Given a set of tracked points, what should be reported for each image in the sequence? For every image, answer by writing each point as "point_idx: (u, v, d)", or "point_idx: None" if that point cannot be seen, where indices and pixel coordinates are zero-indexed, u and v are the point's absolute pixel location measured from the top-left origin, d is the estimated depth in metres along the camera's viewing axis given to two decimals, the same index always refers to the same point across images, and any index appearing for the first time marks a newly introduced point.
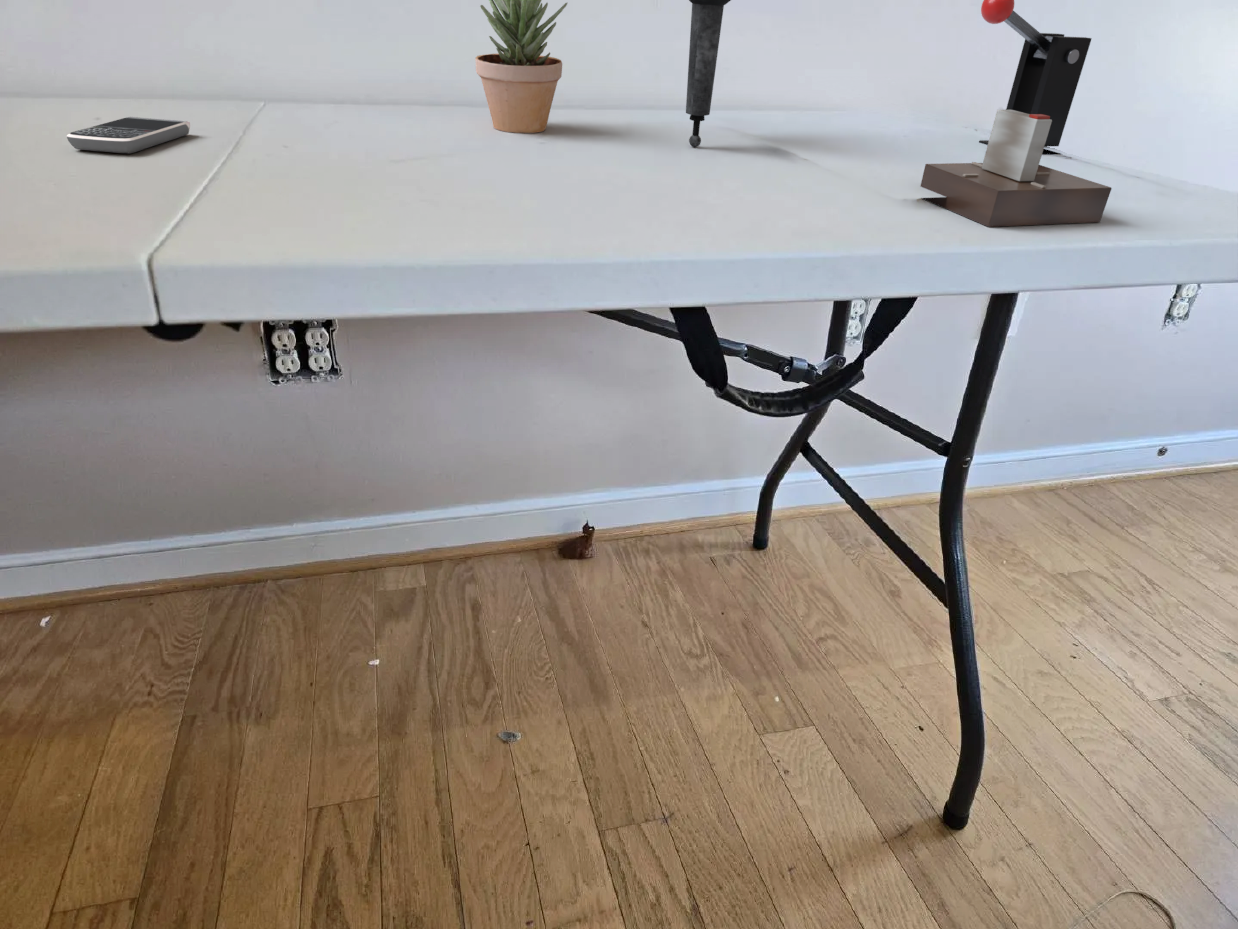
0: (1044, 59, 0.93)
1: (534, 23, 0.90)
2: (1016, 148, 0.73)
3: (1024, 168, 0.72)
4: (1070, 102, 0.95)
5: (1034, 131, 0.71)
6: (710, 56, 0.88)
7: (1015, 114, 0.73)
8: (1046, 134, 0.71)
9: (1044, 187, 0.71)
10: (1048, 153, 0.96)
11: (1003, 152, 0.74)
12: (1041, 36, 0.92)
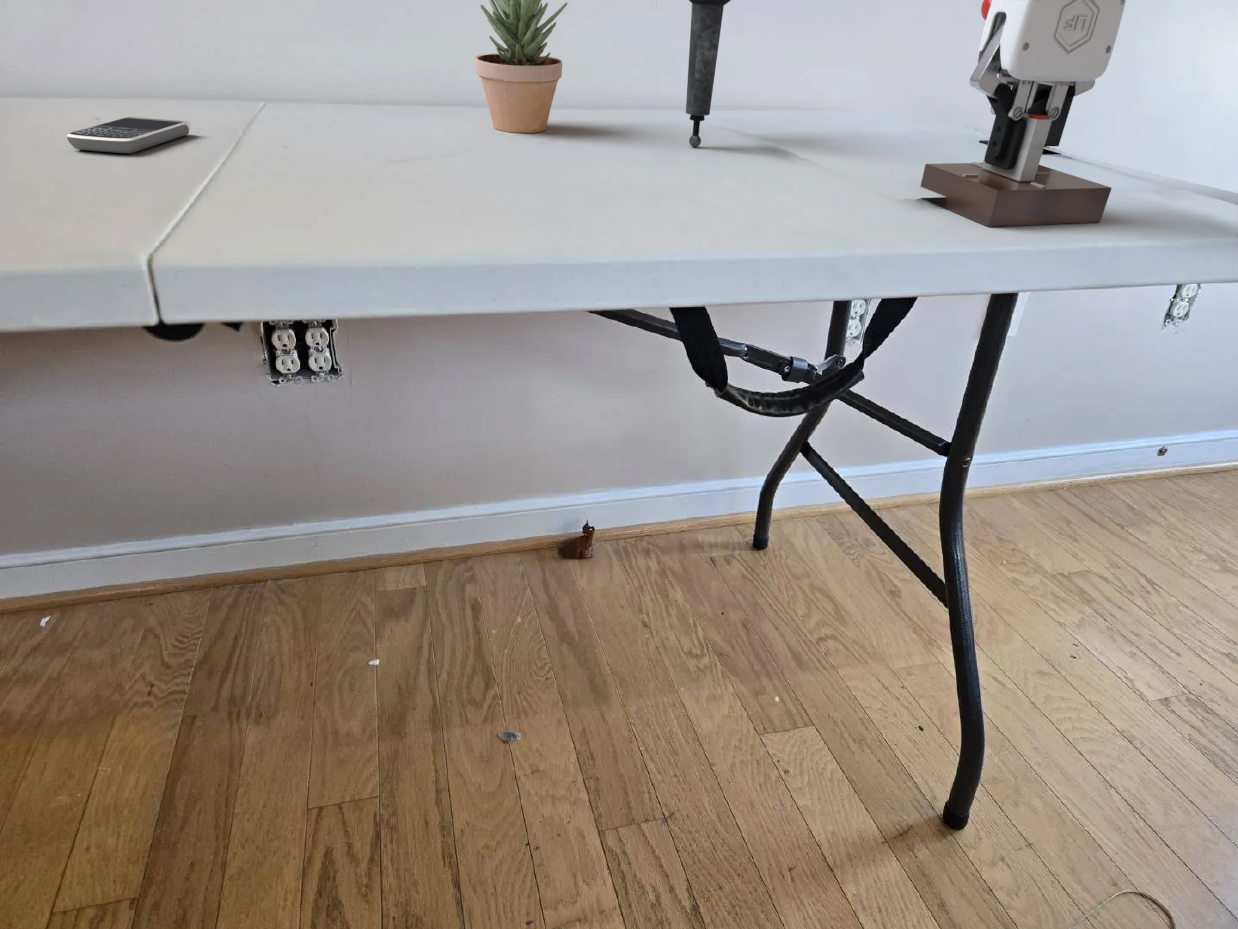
0: None
1: (534, 23, 0.90)
2: None
3: (1024, 168, 0.72)
4: (1070, 102, 0.95)
5: (1034, 131, 0.71)
6: (710, 56, 0.88)
7: None
8: (1046, 134, 0.71)
9: (1044, 187, 0.71)
10: (1048, 153, 0.96)
11: None
12: None
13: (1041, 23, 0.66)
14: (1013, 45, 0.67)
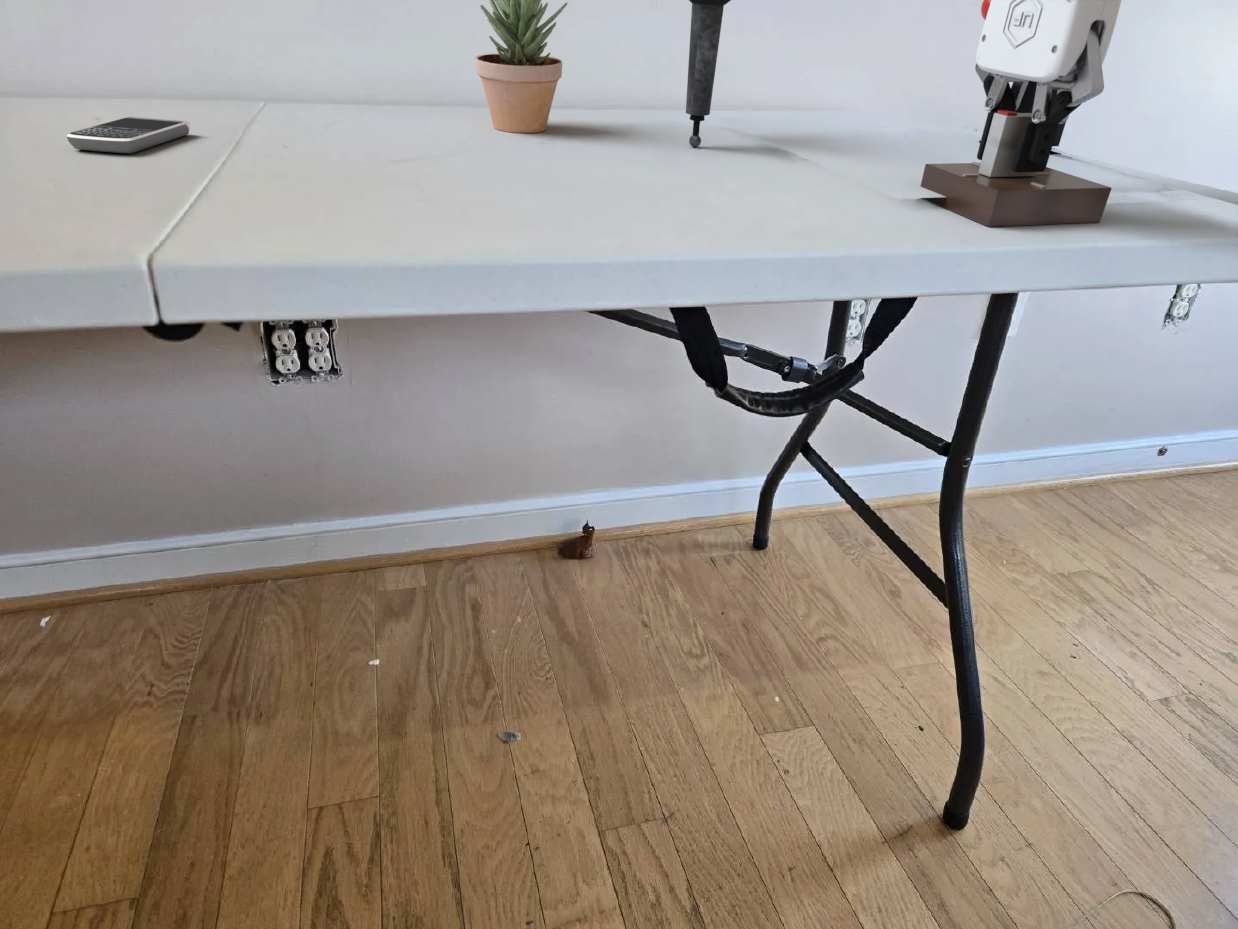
0: None
1: (534, 23, 0.90)
2: None
3: (982, 161, 0.74)
4: None
5: (991, 124, 0.73)
6: (710, 56, 0.88)
7: (1020, 113, 0.73)
8: (1001, 130, 0.72)
9: (1044, 187, 0.71)
10: None
11: None
12: None
13: (995, 17, 0.71)
14: None
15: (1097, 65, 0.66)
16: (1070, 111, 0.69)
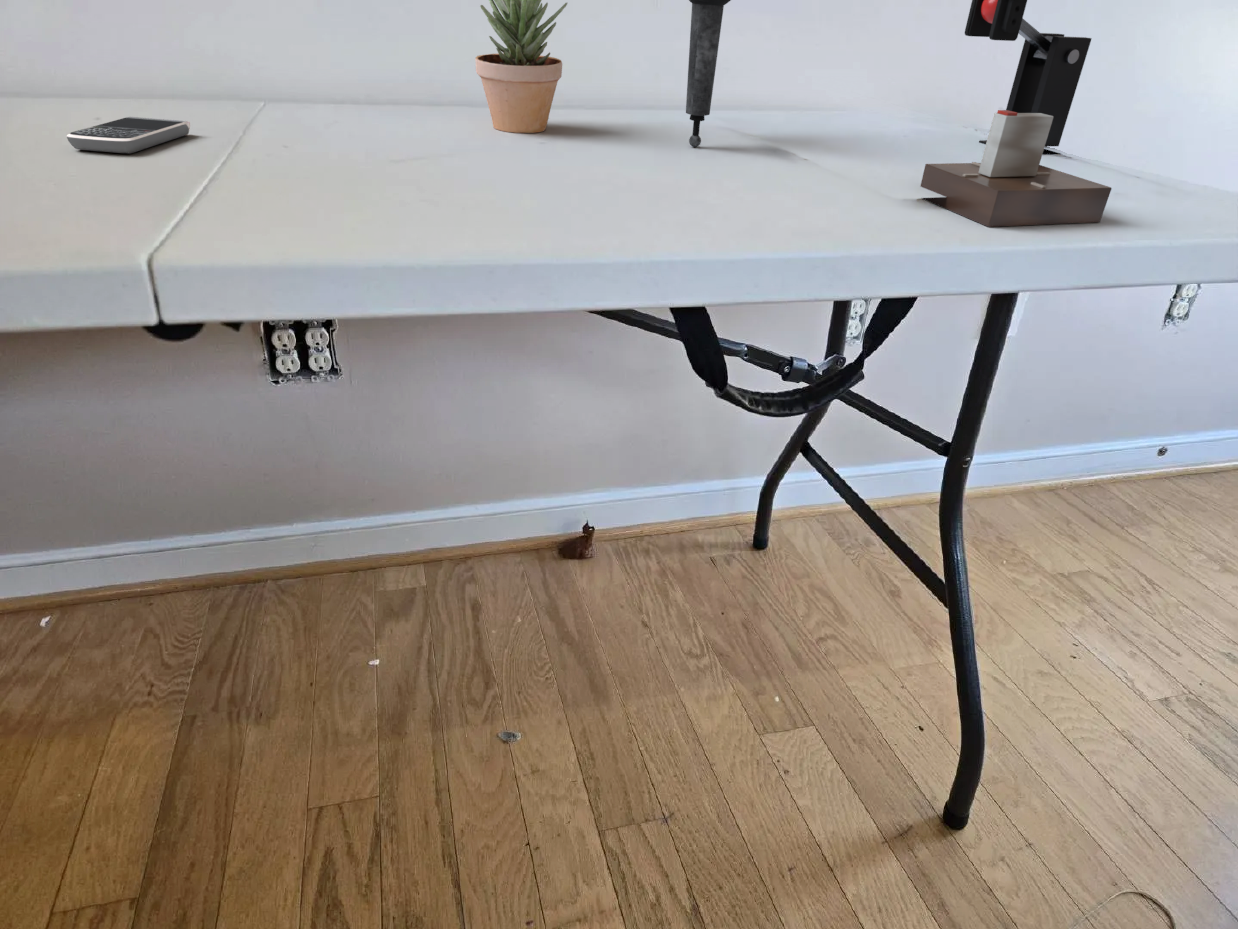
0: (1044, 59, 0.93)
1: (534, 23, 0.90)
2: None
3: (982, 161, 0.74)
4: (1070, 102, 0.95)
5: (991, 124, 0.73)
6: (710, 56, 0.88)
7: (1020, 113, 0.73)
8: (1001, 130, 0.72)
9: (1044, 187, 0.71)
10: (1048, 153, 0.96)
11: None
12: (1041, 36, 0.92)
13: None
14: None
15: None
16: None
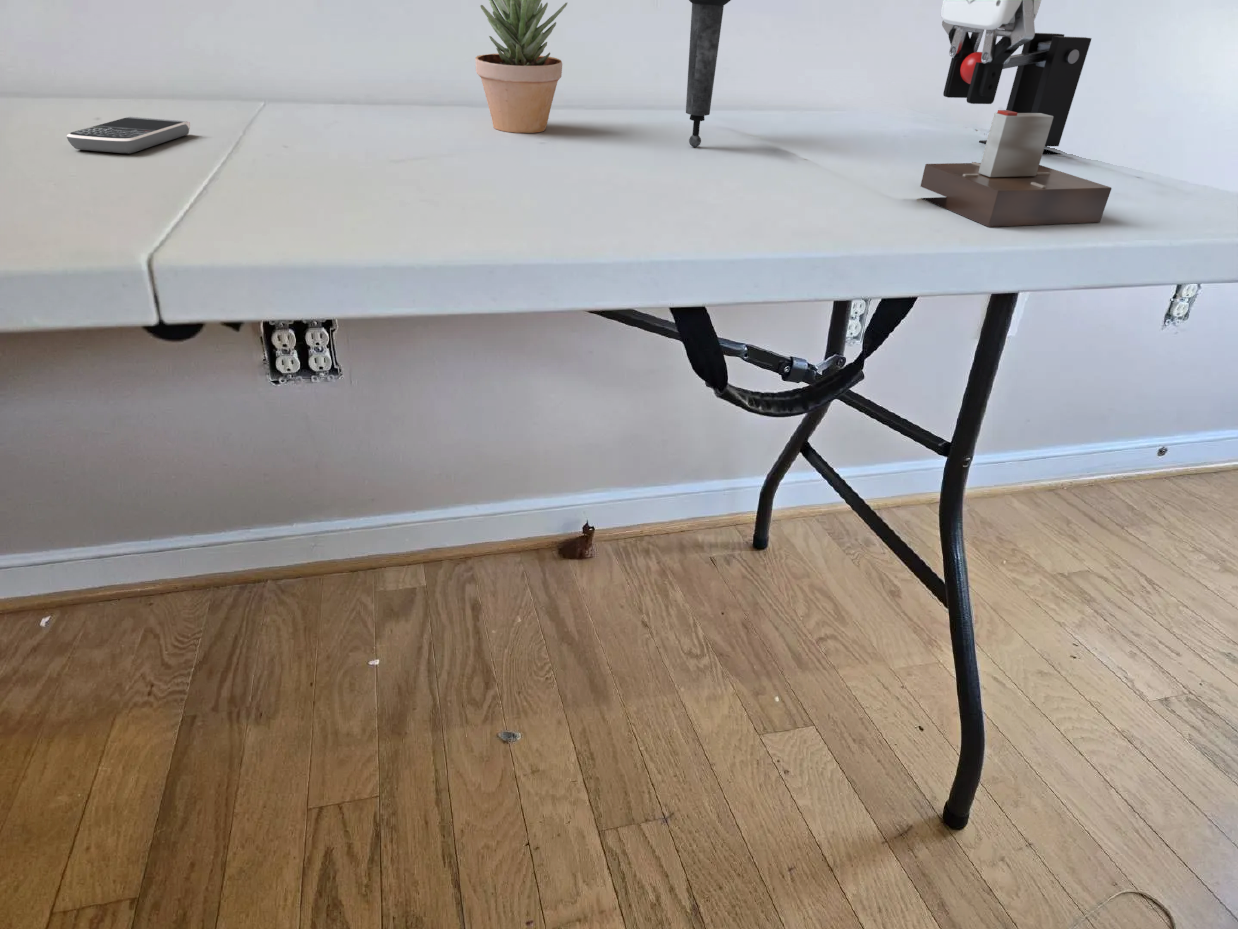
0: None
1: (534, 23, 0.90)
2: None
3: (982, 161, 0.74)
4: (1070, 102, 0.95)
5: (991, 124, 0.73)
6: (710, 56, 0.88)
7: (1020, 113, 0.73)
8: (1001, 130, 0.72)
9: (1044, 187, 0.71)
10: (1048, 153, 0.96)
11: None
12: (1032, 55, 0.93)
13: None
14: None
15: (1030, 16, 0.85)
16: (1011, 53, 0.88)
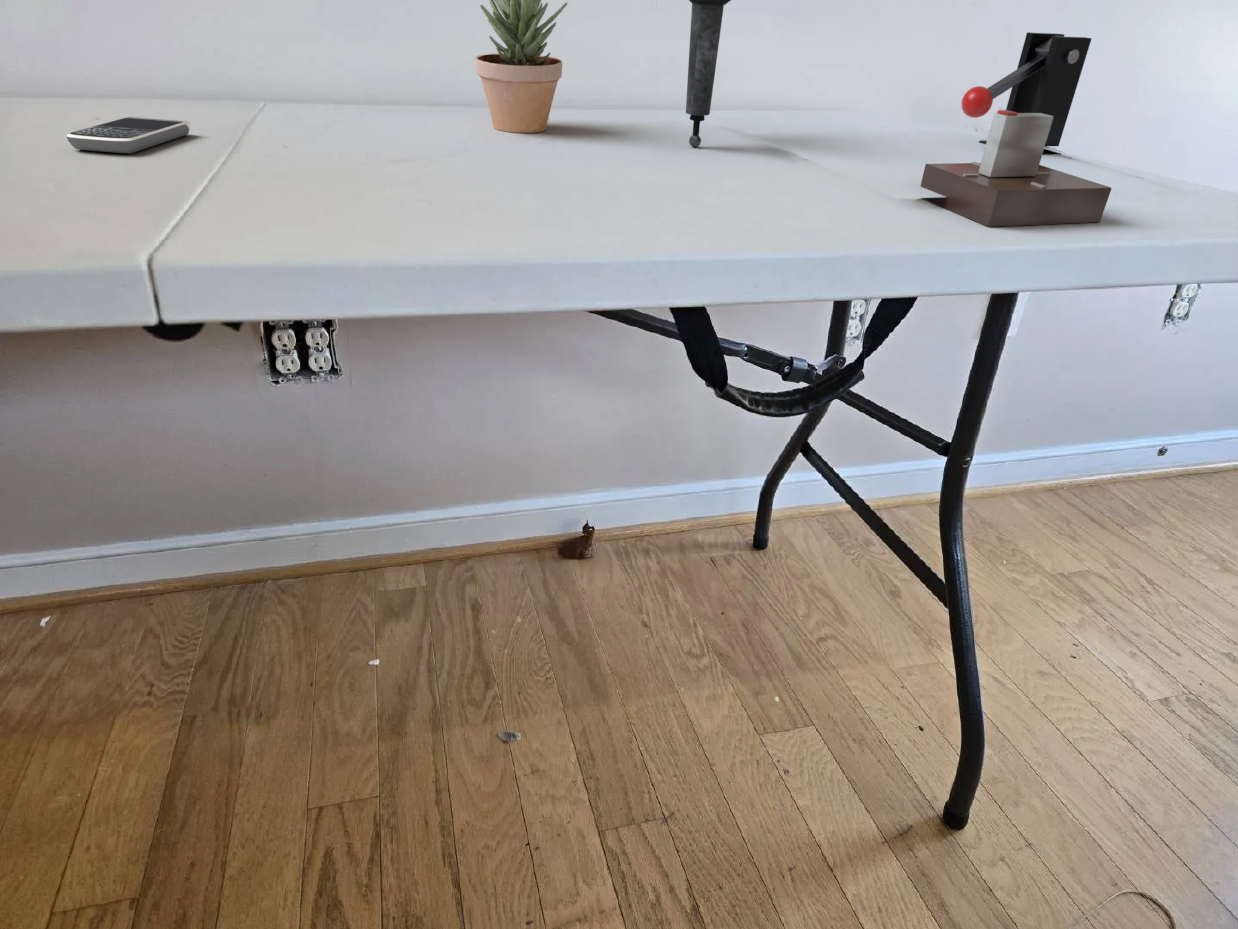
0: None
1: (534, 23, 0.90)
2: None
3: (982, 161, 0.74)
4: (1070, 102, 0.95)
5: (991, 124, 0.73)
6: (710, 56, 0.88)
7: (1020, 113, 0.73)
8: (1001, 130, 0.72)
9: (1044, 187, 0.71)
10: (1048, 153, 0.96)
11: None
12: (1031, 67, 0.94)
13: None
14: None
15: None
16: None
